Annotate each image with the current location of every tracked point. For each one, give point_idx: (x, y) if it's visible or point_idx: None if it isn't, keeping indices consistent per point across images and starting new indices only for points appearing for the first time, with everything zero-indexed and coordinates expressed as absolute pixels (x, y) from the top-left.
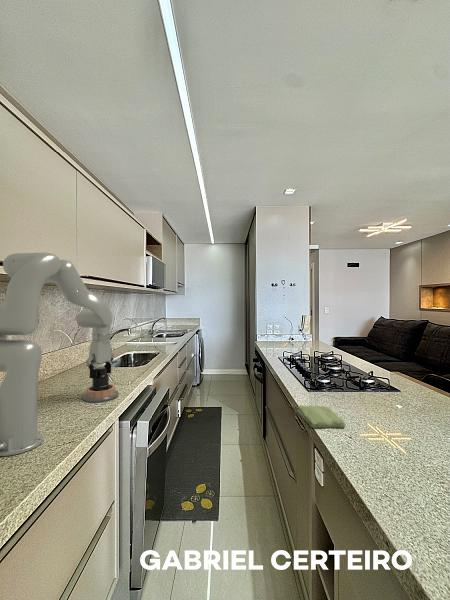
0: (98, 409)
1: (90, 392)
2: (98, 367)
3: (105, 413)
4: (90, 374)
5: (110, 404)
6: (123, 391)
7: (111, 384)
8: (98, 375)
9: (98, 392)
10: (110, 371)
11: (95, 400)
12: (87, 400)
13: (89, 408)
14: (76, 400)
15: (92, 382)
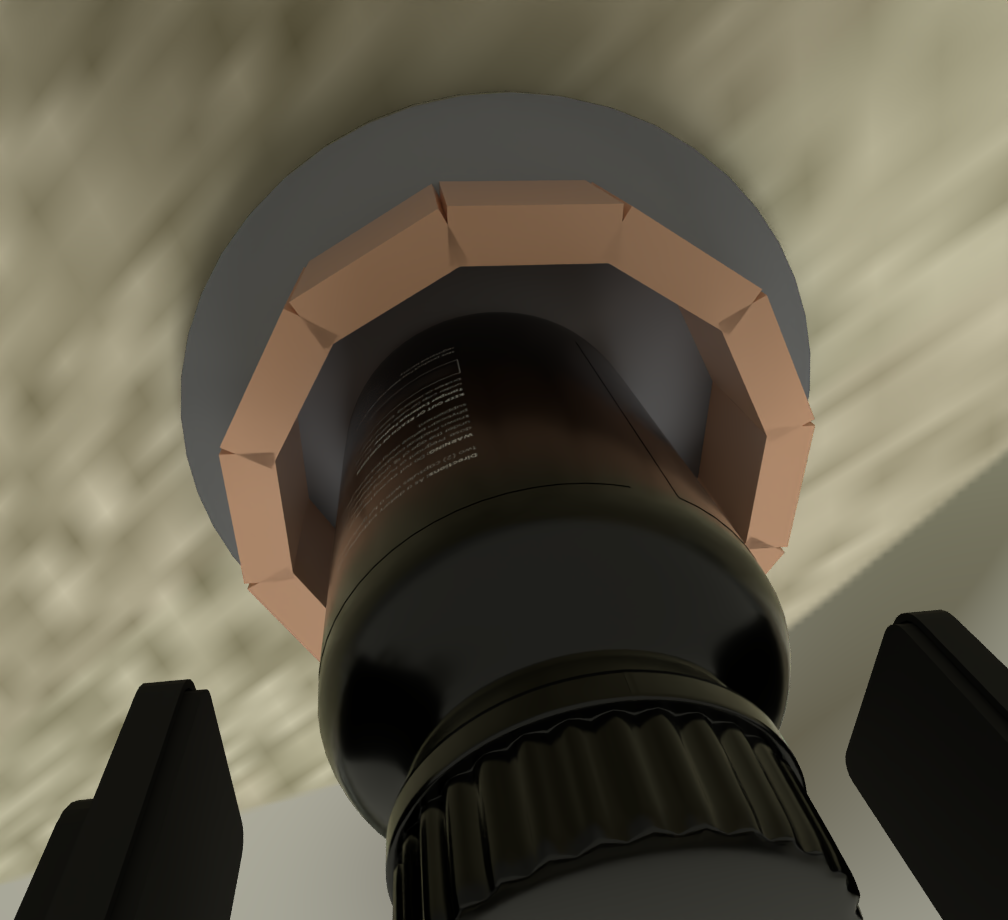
0: (66, 719)
1: (230, 480)
2: (721, 868)
3: (23, 846)
4: (48, 870)
5: (283, 724)
6: (826, 550)
7: (777, 539)
8: (387, 820)
9: (291, 618)
10: (887, 813)
11: (231, 549)
12: (188, 411)
13: (19, 607)
14: (169, 106)
15: (371, 493)
